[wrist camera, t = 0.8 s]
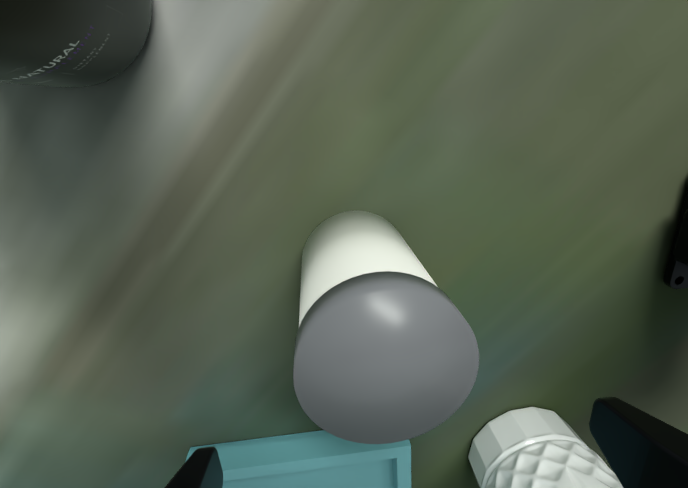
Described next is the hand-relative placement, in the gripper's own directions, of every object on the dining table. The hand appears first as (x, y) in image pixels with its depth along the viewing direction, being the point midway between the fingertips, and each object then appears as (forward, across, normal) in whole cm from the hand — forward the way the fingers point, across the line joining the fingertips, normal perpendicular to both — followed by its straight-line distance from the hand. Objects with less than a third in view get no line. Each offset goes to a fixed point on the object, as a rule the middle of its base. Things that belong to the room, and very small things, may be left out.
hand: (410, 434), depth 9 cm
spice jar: (+10, 0, 0) cm, 10 cm away
